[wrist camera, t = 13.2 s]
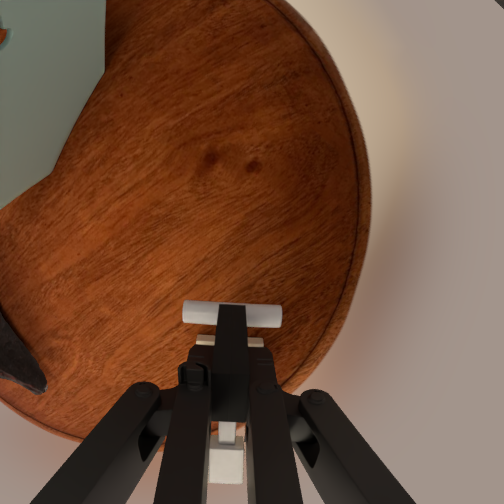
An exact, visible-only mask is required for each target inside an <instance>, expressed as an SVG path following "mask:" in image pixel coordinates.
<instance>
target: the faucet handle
mask: <svg viewBox="0 0 504 504" xmlns="http://www.w3.org/2000/svg"><path fill="white" fill-rule="evenodd" d="M219 304H231V305H246V319H247V327H267V328H280V326H281V323H282V307H281V305H267V304H247V303H228V302H212V301H197V300H185V301H184V303H183V312H182V317H183V322H184V323H195V324H209V325H217V318H218V309H219ZM243 469H244V442H243V437H242V436H236V422H220V421H219V429H218V435H211V437H210V451H209V483H223V484H243Z"/></svg>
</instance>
